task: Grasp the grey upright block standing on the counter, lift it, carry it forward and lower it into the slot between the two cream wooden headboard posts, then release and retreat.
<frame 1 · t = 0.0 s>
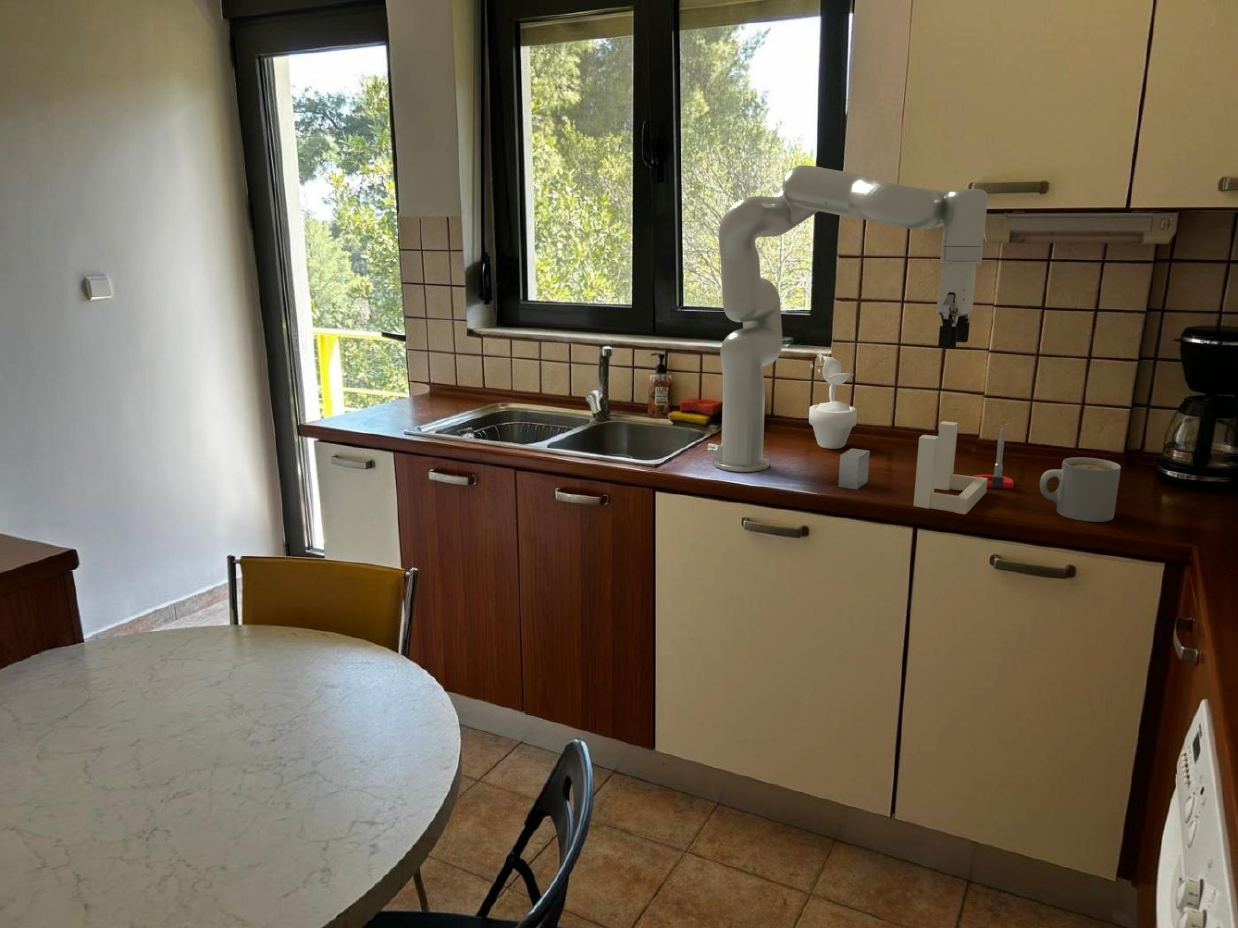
hand: (953, 344, 181), 31 cm above the table, tool pointing down, fingers open, 9 cm apart
coffee mug: (1074, 513, 178), on the table
grey red t-shaped piece: (991, 484, 198), on the table
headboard: (933, 496, 189), on the table
grey upright block: (853, 484, 198), on the table
potted plant: (831, 447, 231), on the table
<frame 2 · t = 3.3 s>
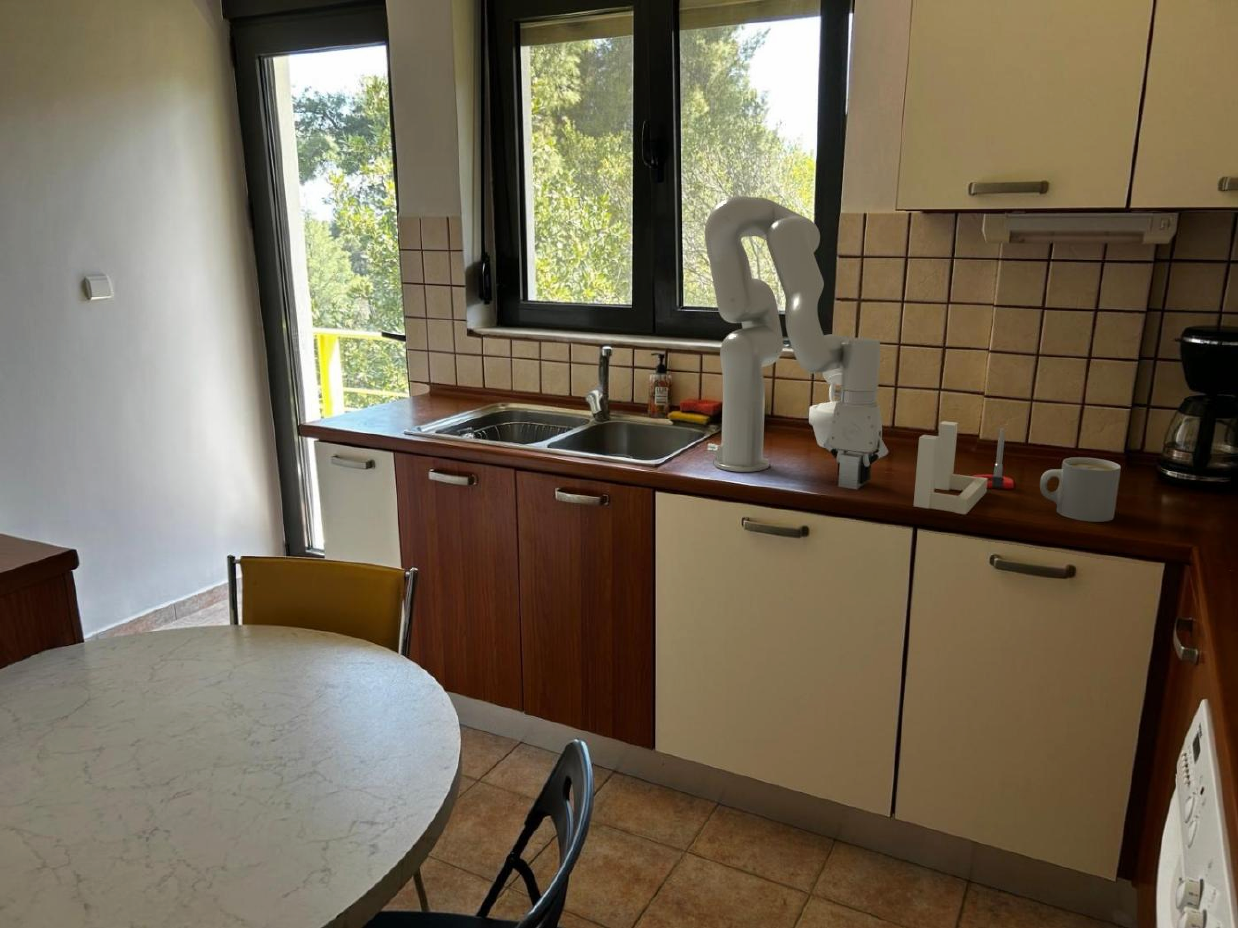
hand: (853, 480, 198), 1 cm above the table, tool pointing down, fingers closed on grey upright block, 4 cm apart
grey upright block: (853, 484, 198), on the table, touching gripper
everything else where it was.
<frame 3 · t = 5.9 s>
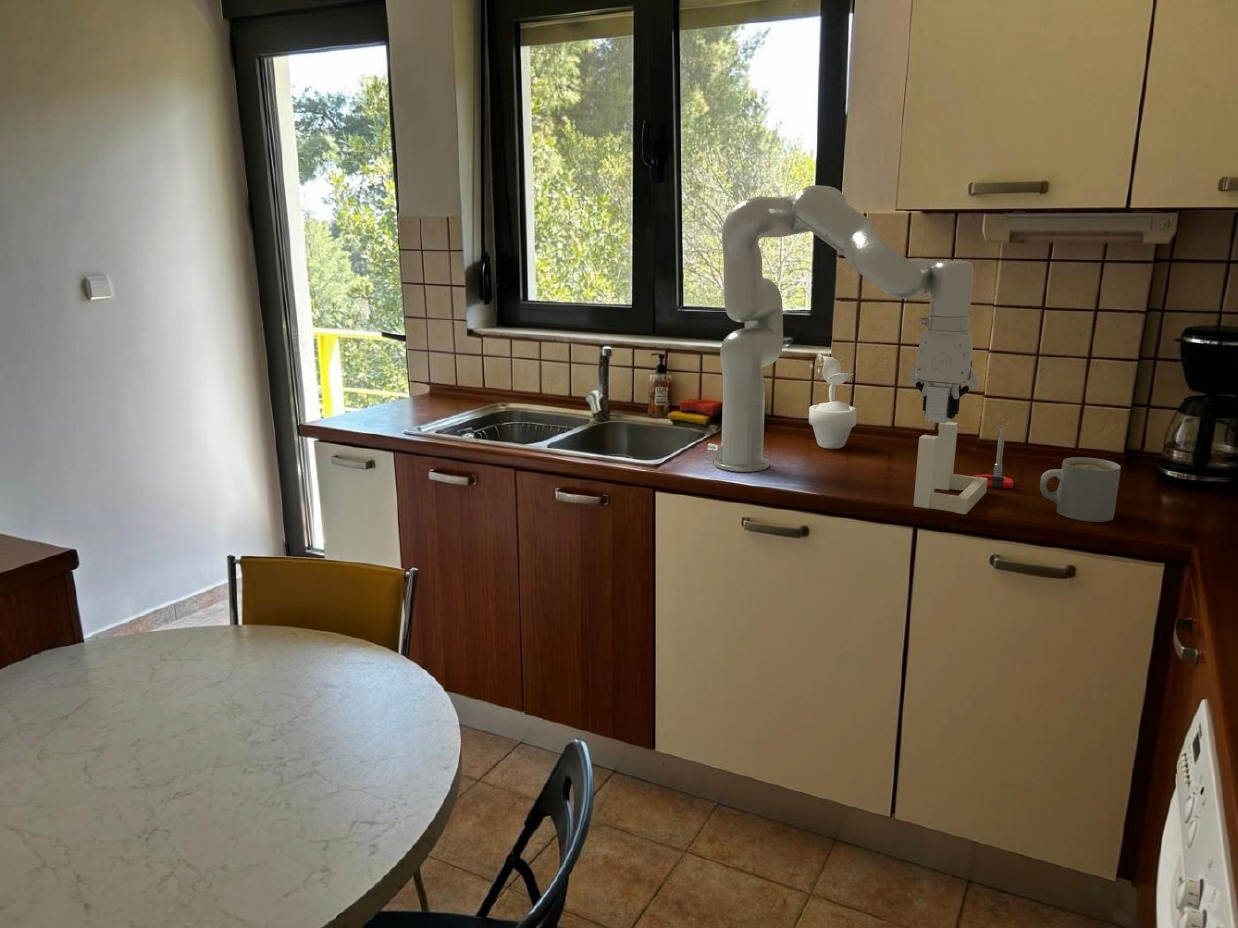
hand: (940, 415, 185), 17 cm above the table, tool pointing down, fingers closed on grey upright block, 4 cm apart
grey upright block: (939, 419, 185), point 16 cm above the table, touching gripper
everything else where it was.
when the fingers open (3 cm above the table, at t = 8.8 s): grey upright block drops 2 cm, on the table.
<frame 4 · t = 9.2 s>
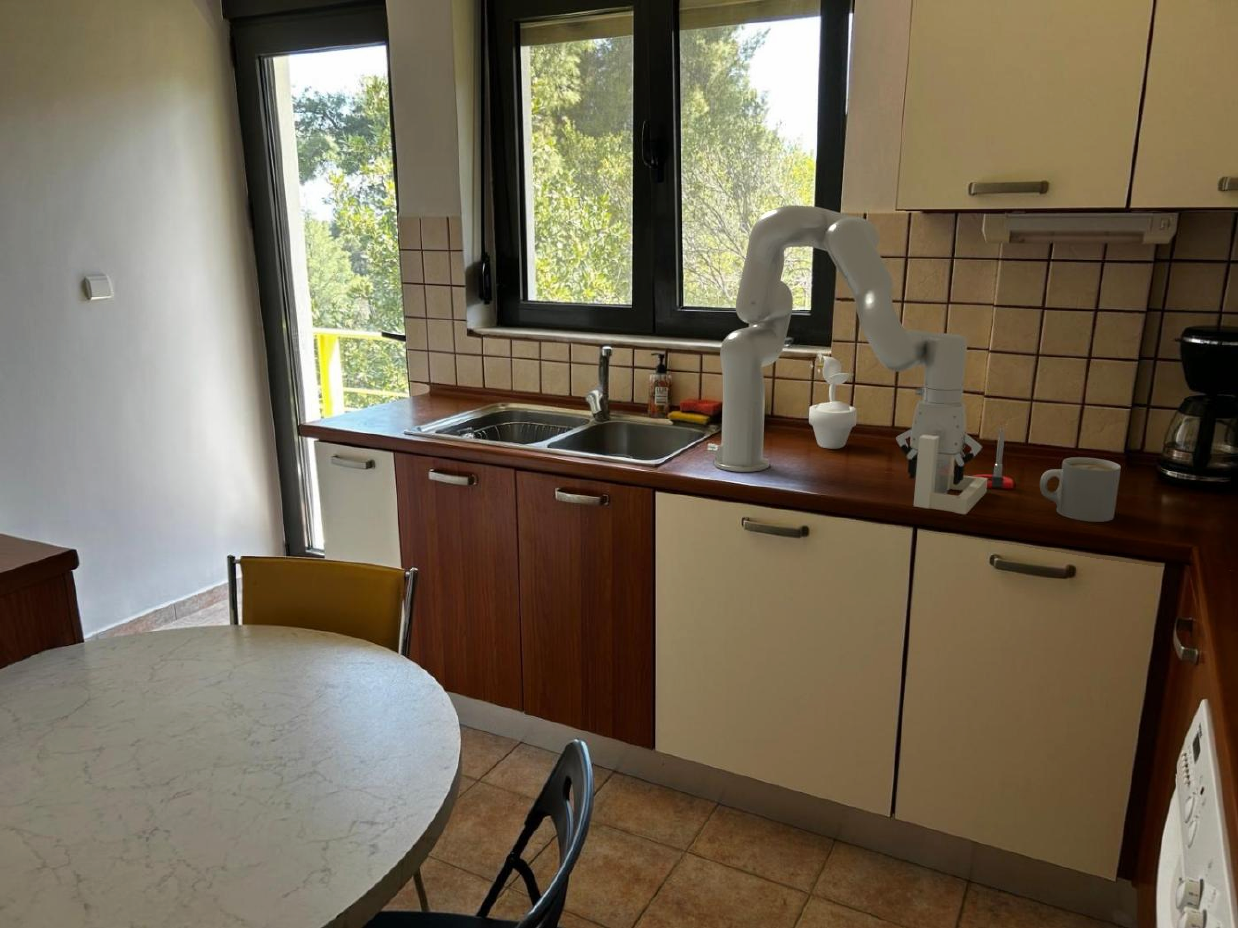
hand: (934, 479, 188), 4 cm above the table, tool pointing down, fingers open, 8 cm apart
grey upright block: (932, 496, 189), on the table
everything else where it was.
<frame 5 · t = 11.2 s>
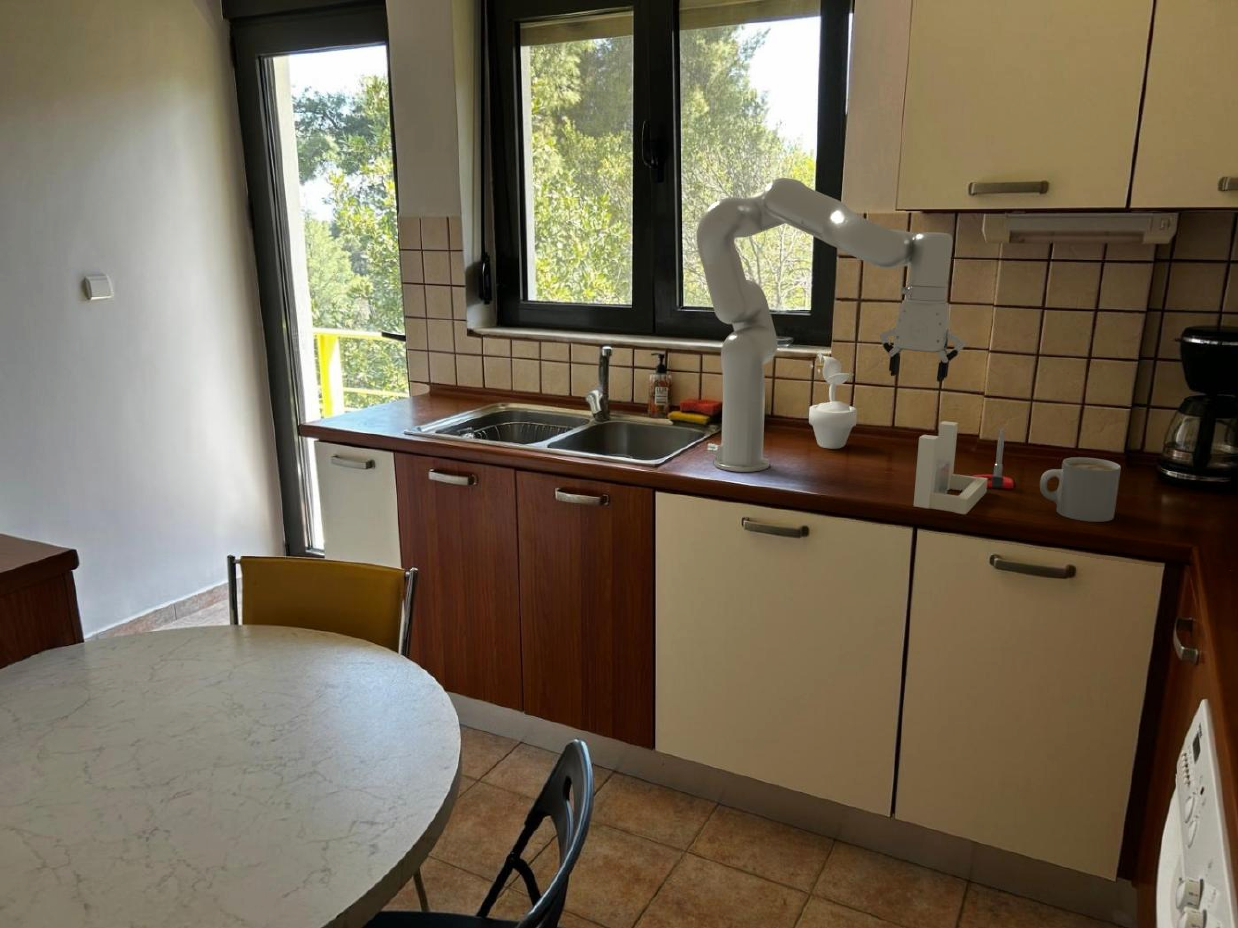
hand: (917, 377, 191), 23 cm above the table, tool pointing down, fingers open, 9 cm apart
nothing on the table moved.
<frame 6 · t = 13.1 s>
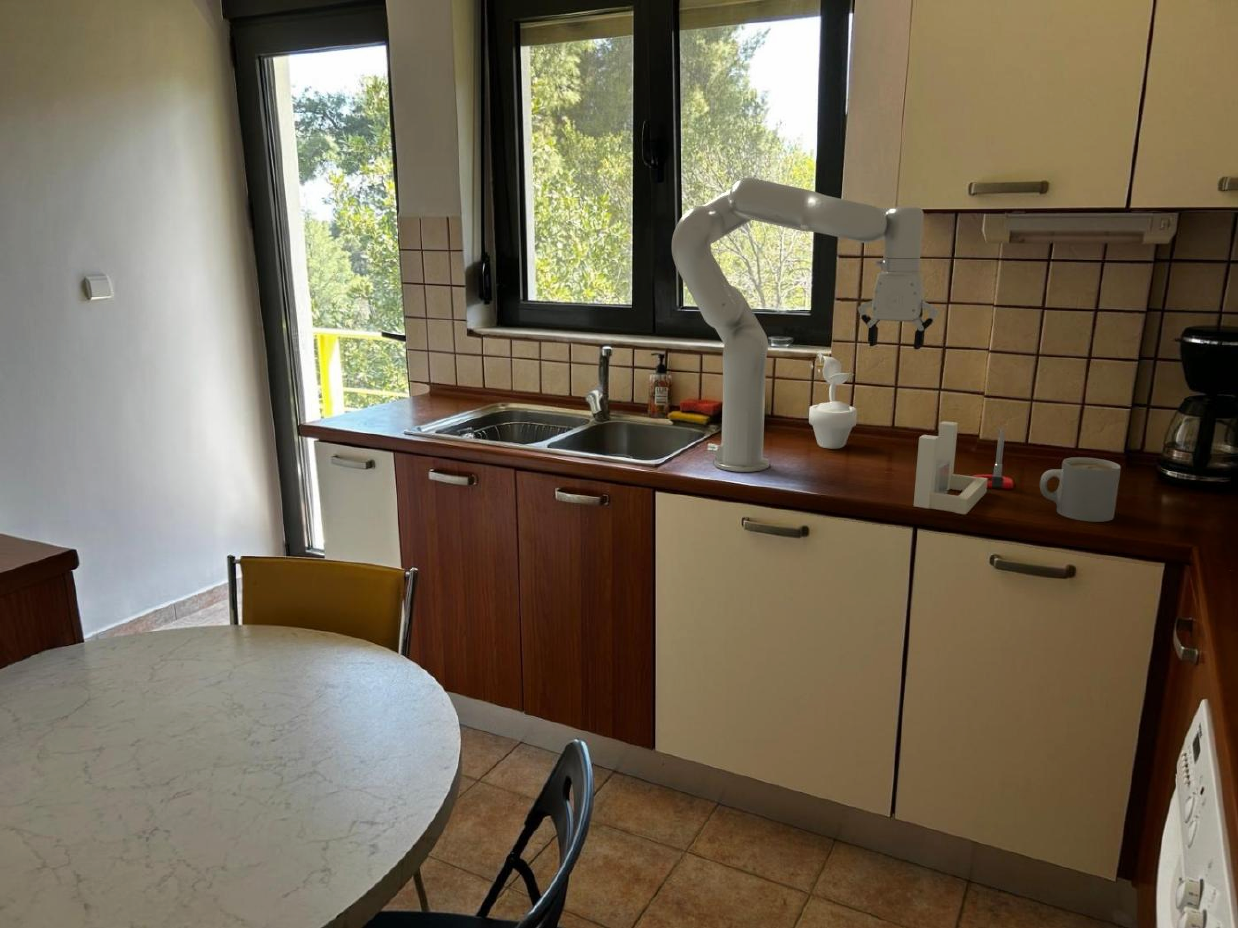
hand: (894, 347, 200), 28 cm above the table, tool pointing down, fingers open, 9 cm apart
nothing on the table moved.
at the end: grey upright block inside the target area (0.2 cm from its centre), on the table; grey upright block tilted 0°; the gripper is holding nothing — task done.
